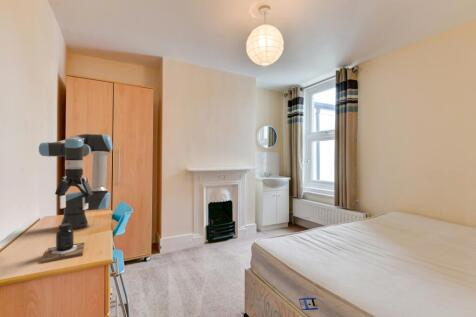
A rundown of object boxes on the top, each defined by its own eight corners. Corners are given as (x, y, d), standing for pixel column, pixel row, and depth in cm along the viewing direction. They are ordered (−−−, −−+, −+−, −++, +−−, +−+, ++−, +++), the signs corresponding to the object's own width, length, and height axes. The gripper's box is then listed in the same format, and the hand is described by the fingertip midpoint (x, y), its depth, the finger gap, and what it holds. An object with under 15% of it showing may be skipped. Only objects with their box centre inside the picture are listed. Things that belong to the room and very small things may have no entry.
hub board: (48, 250, 111) (48, 246, 111) (84, 244, 119) (84, 240, 119) (41, 263, 98) (41, 258, 98) (82, 255, 106) (82, 251, 106)
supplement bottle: (53, 249, 108) (54, 224, 108) (70, 245, 113) (70, 221, 114) (58, 253, 104) (58, 227, 104) (75, 248, 109) (75, 224, 109)
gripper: (46, 168, 113) (46, 209, 114) (89, 169, 110) (89, 211, 110) (60, 167, 121) (60, 205, 121) (100, 168, 117) (100, 208, 118)
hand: (74, 208), depth 116 cm, fingers open, 13 cm apart
